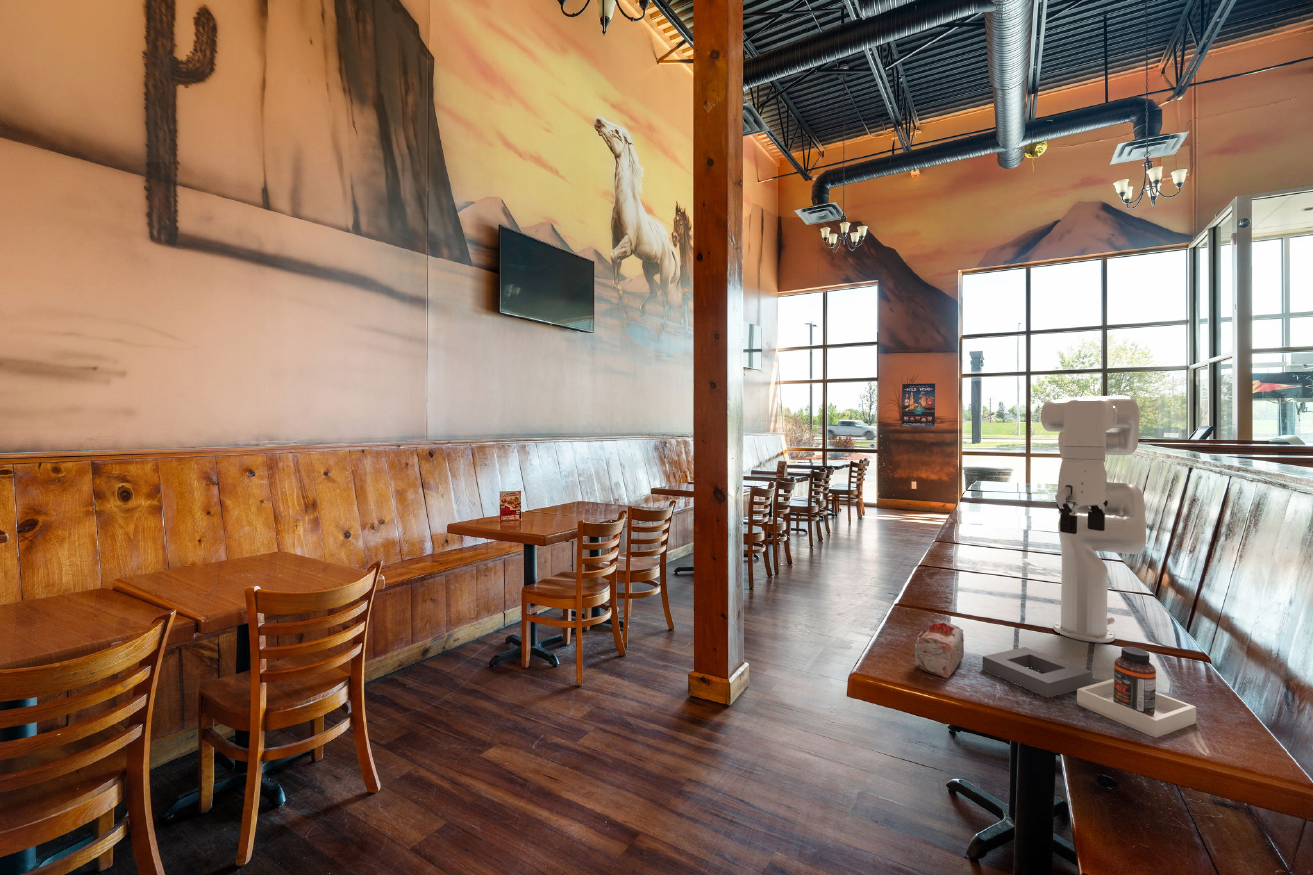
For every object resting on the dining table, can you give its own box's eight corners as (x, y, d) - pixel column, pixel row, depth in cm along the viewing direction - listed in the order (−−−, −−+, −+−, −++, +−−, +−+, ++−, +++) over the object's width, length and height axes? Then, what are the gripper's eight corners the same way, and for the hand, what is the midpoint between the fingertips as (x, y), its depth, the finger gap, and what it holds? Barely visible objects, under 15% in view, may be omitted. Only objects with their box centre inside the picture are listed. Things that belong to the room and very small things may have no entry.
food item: (952, 683, 117) (953, 636, 117) (911, 672, 122) (912, 627, 122) (966, 662, 128) (967, 619, 128) (928, 653, 133) (929, 611, 133)
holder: (1024, 659, 129) (1025, 646, 129) (1092, 685, 116) (1092, 671, 116) (982, 669, 123) (982, 656, 123) (1048, 698, 111) (1048, 683, 110)
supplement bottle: (1104, 702, 108) (1106, 644, 107) (1133, 701, 108) (1135, 643, 108) (1133, 719, 102) (1134, 657, 101) (1164, 717, 102) (1165, 656, 102)
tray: (1116, 692, 113) (1116, 677, 113) (1196, 723, 101) (1196, 706, 101) (1076, 704, 108) (1077, 688, 108) (1155, 737, 97) (1156, 720, 96)
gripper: (1089, 453, 131) (1088, 526, 132) (1041, 454, 125) (1039, 531, 125) (1126, 454, 124) (1125, 531, 125) (1077, 456, 118) (1075, 537, 118)
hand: (1082, 531), depth 125 cm, fingers open, 9 cm apart
